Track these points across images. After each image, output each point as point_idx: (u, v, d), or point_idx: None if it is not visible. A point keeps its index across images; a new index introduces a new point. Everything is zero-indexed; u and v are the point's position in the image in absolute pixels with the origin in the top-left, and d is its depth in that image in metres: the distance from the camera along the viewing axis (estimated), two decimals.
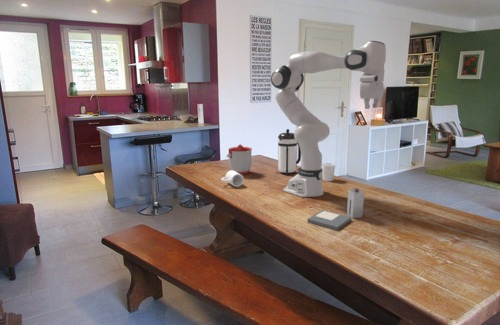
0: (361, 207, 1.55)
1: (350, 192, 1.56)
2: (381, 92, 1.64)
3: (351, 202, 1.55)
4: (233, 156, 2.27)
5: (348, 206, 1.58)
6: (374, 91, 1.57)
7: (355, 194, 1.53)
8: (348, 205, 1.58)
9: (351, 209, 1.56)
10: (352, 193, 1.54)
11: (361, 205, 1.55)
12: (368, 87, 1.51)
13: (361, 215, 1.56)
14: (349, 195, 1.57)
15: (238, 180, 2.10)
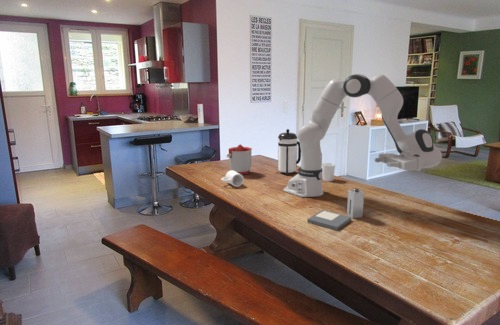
0: (361, 207, 1.55)
1: (350, 192, 1.56)
2: None
3: (351, 202, 1.55)
4: (233, 156, 2.27)
5: (348, 206, 1.58)
6: None
7: (355, 194, 1.53)
8: (348, 205, 1.58)
9: (351, 209, 1.56)
10: (352, 193, 1.54)
11: (360, 205, 1.55)
12: (414, 169, 1.49)
13: (361, 215, 1.56)
14: (349, 195, 1.57)
15: (238, 180, 2.10)
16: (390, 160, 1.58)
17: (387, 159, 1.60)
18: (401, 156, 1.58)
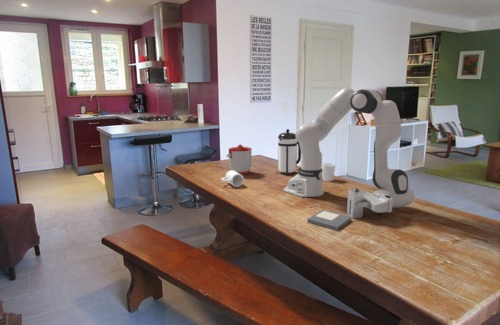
0: (361, 207, 1.55)
1: (350, 192, 1.56)
2: None
3: (351, 202, 1.55)
4: (233, 156, 2.27)
5: (348, 206, 1.58)
6: None
7: (355, 194, 1.53)
8: (348, 205, 1.58)
9: (351, 209, 1.56)
10: (352, 193, 1.54)
11: None
12: (384, 211, 1.50)
13: (361, 215, 1.56)
14: (349, 195, 1.57)
15: (238, 180, 2.10)
16: None
17: None
18: (373, 196, 1.59)
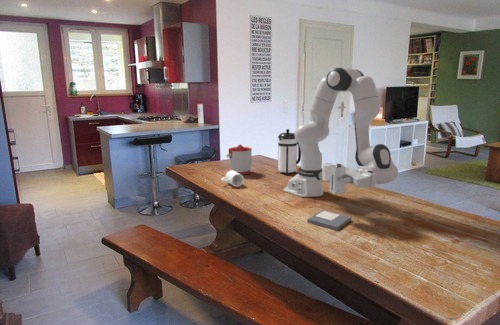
0: (343, 183, 1.51)
1: (332, 167, 1.51)
2: None
3: (333, 178, 1.51)
4: (233, 156, 2.27)
5: (330, 182, 1.53)
6: None
7: (337, 169, 1.48)
8: (330, 181, 1.53)
9: (333, 185, 1.51)
10: (334, 168, 1.49)
11: None
12: (367, 186, 1.46)
13: (343, 191, 1.52)
14: (331, 171, 1.52)
15: (238, 180, 2.10)
16: None
17: None
18: (356, 172, 1.55)
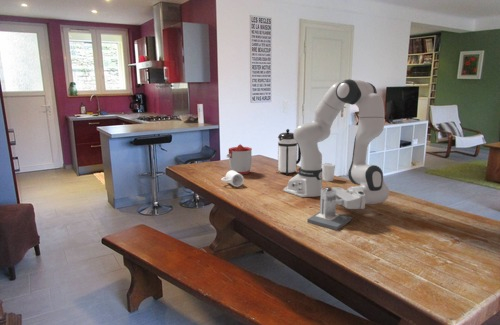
0: (334, 206, 1.52)
1: (322, 191, 1.52)
2: None
3: (323, 201, 1.52)
4: (233, 156, 2.27)
5: (321, 205, 1.55)
6: None
7: (327, 193, 1.50)
8: (321, 204, 1.55)
9: (323, 208, 1.52)
10: (324, 192, 1.51)
11: (333, 204, 1.52)
12: (357, 207, 1.46)
13: (334, 214, 1.53)
14: (322, 194, 1.53)
15: (238, 180, 2.10)
16: (336, 196, 1.55)
17: None
18: (347, 192, 1.55)
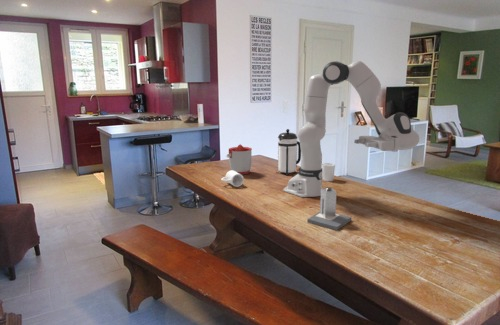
0: (334, 206, 1.52)
1: (322, 191, 1.52)
2: None
3: (323, 201, 1.52)
4: (233, 156, 2.27)
5: (321, 205, 1.55)
6: None
7: (327, 193, 1.50)
8: (321, 204, 1.55)
9: (323, 208, 1.52)
10: (324, 192, 1.51)
11: (333, 204, 1.52)
12: (391, 149, 1.55)
13: (334, 215, 1.53)
14: (322, 194, 1.53)
15: (238, 180, 2.10)
16: (369, 141, 1.64)
17: (366, 141, 1.66)
18: (380, 138, 1.64)
